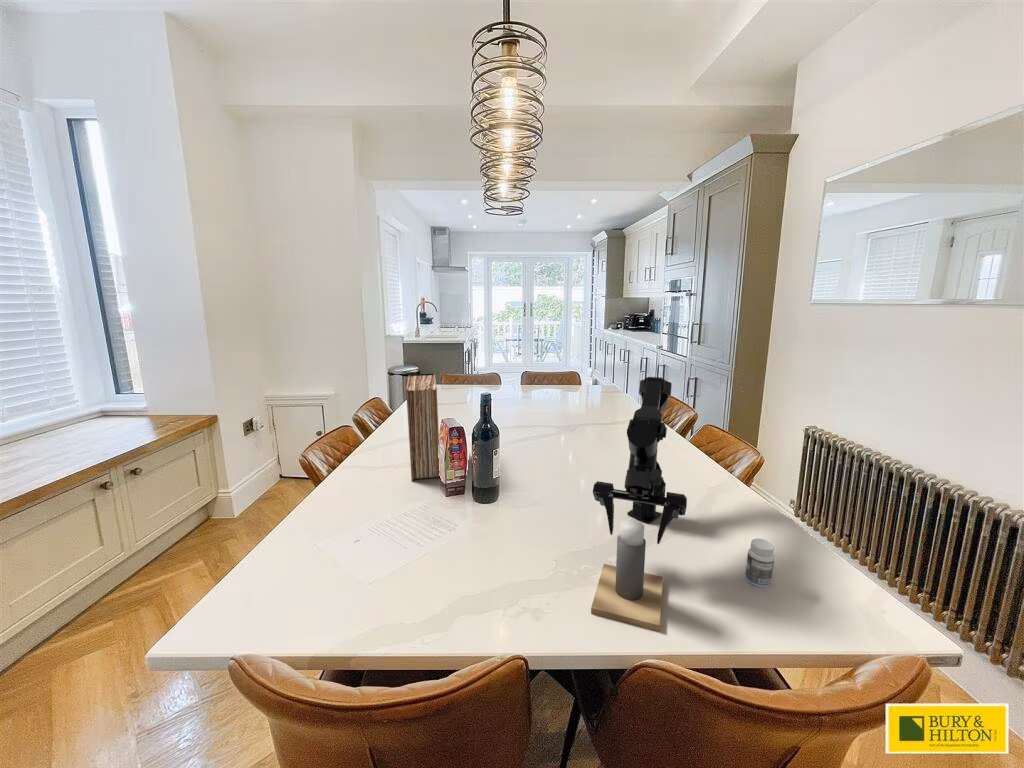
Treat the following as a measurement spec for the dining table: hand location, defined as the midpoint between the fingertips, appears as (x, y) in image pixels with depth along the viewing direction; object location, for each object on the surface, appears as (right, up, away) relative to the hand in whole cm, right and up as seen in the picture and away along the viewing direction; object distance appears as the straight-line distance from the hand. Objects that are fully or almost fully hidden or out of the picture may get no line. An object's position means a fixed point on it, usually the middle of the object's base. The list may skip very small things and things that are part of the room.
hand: (634, 538), depth 86 cm
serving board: (-2, -10, -3) cm, 11 cm away
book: (-55, +3, +62) cm, 82 cm away
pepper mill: (-2, -9, -3) cm, 10 cm away
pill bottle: (+26, -9, +1) cm, 28 cm away
